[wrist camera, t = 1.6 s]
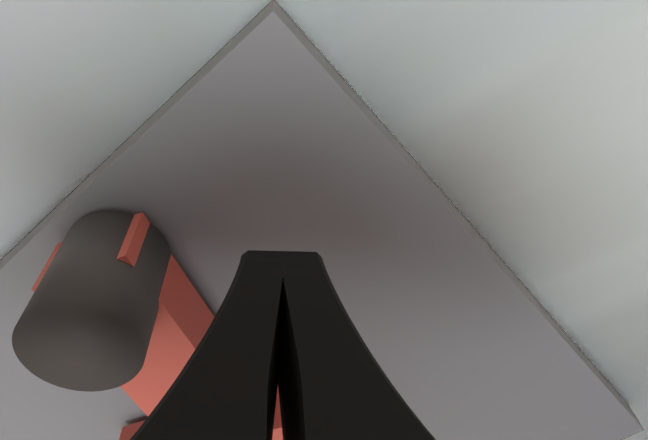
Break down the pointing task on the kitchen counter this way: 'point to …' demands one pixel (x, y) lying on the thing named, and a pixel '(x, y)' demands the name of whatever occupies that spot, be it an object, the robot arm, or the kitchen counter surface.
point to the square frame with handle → (114, 314)
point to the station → (328, 241)
